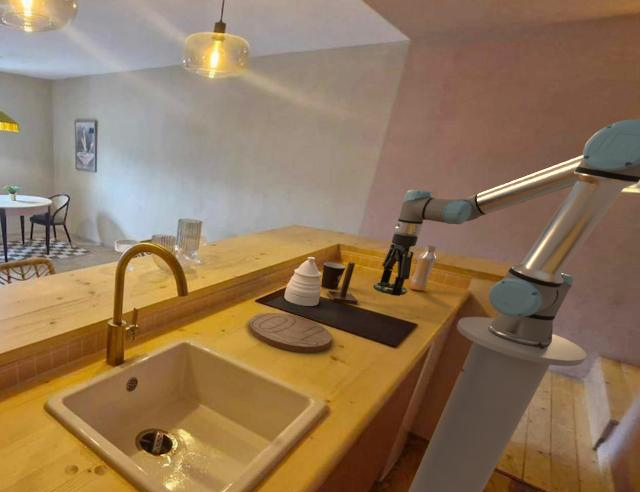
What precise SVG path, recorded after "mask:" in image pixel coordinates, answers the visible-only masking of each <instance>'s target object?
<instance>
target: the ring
mask: <svg viewBox="0 0 640 492" xmlns="http://www.w3.org/2000/svg"><path fill="white" fill-rule="evenodd" d="M393 286H394V283H393V282H389V283H385V282H380V281H379V282H375V283H374V284H373V285H372V288H373V289H374V290H375V291H377V292H379V293H382V294H386V295H390V296H392V295H391V292H392V289H393ZM407 293H408V288H406V287H404V286H403V287H402V290H401V293H400V296H405V295H406V294H407Z"/></svg>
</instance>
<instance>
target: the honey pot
mask: <svg viewBox="0 0 640 492" xmlns="http://www.w3.org/2000/svg"><path fill="white" fill-rule="evenodd" d="M315 260H316V257H313V256H307V260H305V261H303V262H302V263H301V264H300V265H299V267H298V268H295V269H294V273H293V275H292V276H291V277H290V280H289V282H288V283H287V285H286V287H285V291H284V299H285V300H286V301H287V302H288V303H291V304H294V305H298V306H302V307H303V306H305V307H315V306H317V305H319V302H320V299H321V298H320V297H321V294H322V286H321V284H322V281H321V279H320V278H322V275H323V273H322V272H320V271H319V269H318V265H317V264H316V262H315Z"/></svg>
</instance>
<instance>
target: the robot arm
mask: <svg viewBox="0 0 640 492" xmlns="http://www.w3.org/2000/svg"><path fill="white" fill-rule="evenodd" d="M639 182H640V119H638V118H632V119H626V120H620V121H617V122H614V123H611V124H609V125H607V126H605V127H603V128H600V129H599V130H598V131H597V132H596V133H594V134H592V136H591V137H590V138H589V139H588V140H587V142H586V143H585V145H584V147H583V150H582V154H581V155H579V156H575V157H573V158H570V159H568V160H565V161H562V162H560V163H557V164H554V165H552V166H549V167H545V168H544V169H540V170H538V171H535V172H533V173H530V174H527V175H525V176H522V177H520V178H519V177H518V178H516V179H514V180H511V181H508V182H506V183H502V184H501V185H497V186H495V187H493V188H490V189H487V190H484V191H482V192H478V193H476V194H474V195H471V196H468V197H466V198H459V199H458V198H457V199H456V198H455V199H454V198H453V199H449V198H436V197H432V196H433V195H432V194H433V193H432V191H429V190H423V189H422V190H420V189H409V190H407V192H406V193H405V196H404V199H403V201H402V205H401V208H400V213H399V215H398V219H397V222H396V223H395V224H394V226H395V229H394V232H395V233H393V235H392V239H391V244H390V246H389V250H388V252H387V254H386V256H385V258H384V260H383V262H382V265H381V266H382V267H383V271H382V272H383V273H382V274H381V278H380V281H379V282H385V283H390V280H391V276H392V273H393V270H394V266H395V265H396V263H397V276H395V277H394V278H395V280H394V283H393V284H394V286H393V289H392V292H391V295H390V296H396V297H400V296H401V295H400V293H401V290H402V287H404V284H405V280H409V279H410V274H411V268H412V260H413V256H414V253H415V252H414V251H410V249H411V247H415V246H416V245H417V242H418V239H419V237H418V236H419V235H420V233H421V230H422V227H423V223H424V220H425V221H432V222H438V223H444V224H447V225H462V224H464V223H465V222H470V221H473V220H477V219H479V218H480V217H482V216H485V215H488V214H491V213H494V212H497V211H500V210H503V209H506V208H510V207H513V206H516V205H518V204H522V203H525V202H528V201H532V200H534V199H537V198H540V197H544V196H547V195H550V194H552V193H556V192H558V191H559V192H560V191H561V190H565V189H568V188H570V190H569V192H568V193H567V195H566V196H565V197H564V199H563V200H562V202H561V204H560V205H559V206H558V208H557V209H556V211H555V212H554V214H553V215H552V217H551V218H550V220H549V221H548V223H547V224H546V226H545V227H544V229H543V230H542V232H541V233H540V235H539V236H538V238H537V239H536V240H535V242H534V244H533V245H532V247H531V248H530V250H529V251H528V253H527V254H526V256H525V257H524V259H523V260H522V261H521V262H519V263H516V264H512V265H511V266H510V268H509V269H508V271H507V272H506V274H505V275H504V277H503V279H501V280H499V281H498V282H496V283H495V284H494V285H492V286H491V288H490V290H489V292H488V301H489V303H490V305H491V307H492V309H494V310H495V311H497V312H498V313H499V314H498V315H497V316H496V317H495V318H494V321H492V322H491V323H490V325H489V327H488V330H489V331H490V332H491V333H492V334H494V335H496V336H498V337H500V338H503V339H505V340H508V341H511V342H515V343H518V344H522V345H527V346H533V347H541V349H544V347H548V346H550V344H551V342H552V334H553V327H554V326H553V323H554V320H555V318H556V316H557V314H558V313H559V310H560V308H561V307H562V304H563V303H564V300H565V299H566V296H567V295H568V293H569V291H570V289H571V288H572V287H573V282H574V277H573V276H572V275H570V274H567V273H563V271H564V270H565V269H566V267H567V266H568V264H569V263H570V262H571V260H572V259H573V258H574V257H575V255H576V253H577V252H578V251H579V250H580V249H581V247H582V246H583V244H584V243H585V242H586V240H587V239H588V237H589V236H590V235H591V233H592V232H593V231H594V230H595V228H596V227H597V225H598V224H599V222H600V221H601V219H603V217H604V215H605V214H606V213H607V212H608V210H609V209H610V208H611V206H612V205H613V204H614V202H615V201H616V199H617V198H618V197H619V195H621V193H622V192H623V190H624V189H626V188H628V187H631V186H634V185H637V184H638V183H639Z"/></svg>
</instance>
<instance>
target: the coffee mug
mask: <svg viewBox="0 0 640 492" xmlns="http://www.w3.org/2000/svg"><path fill="white" fill-rule="evenodd" d="M345 271H346V266H345V265H343V264H341V263H337V262H324V263H323V267H322V276H321V283H320V285H321V288H324V289H328V290H337V289H338V287H339V284H340V282H341V280H342V277H343V275H344V272H345Z"/></svg>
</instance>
